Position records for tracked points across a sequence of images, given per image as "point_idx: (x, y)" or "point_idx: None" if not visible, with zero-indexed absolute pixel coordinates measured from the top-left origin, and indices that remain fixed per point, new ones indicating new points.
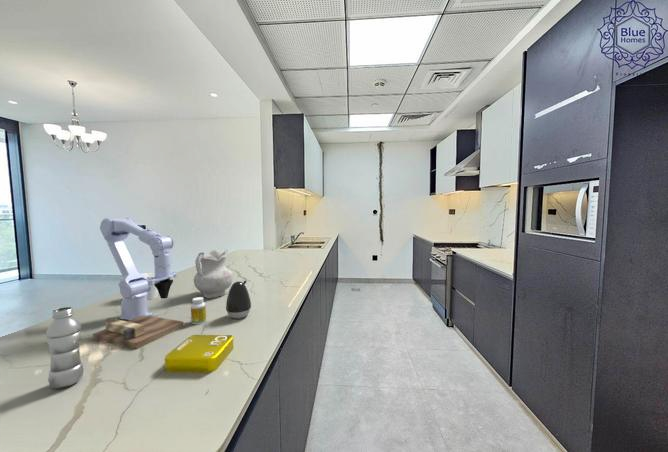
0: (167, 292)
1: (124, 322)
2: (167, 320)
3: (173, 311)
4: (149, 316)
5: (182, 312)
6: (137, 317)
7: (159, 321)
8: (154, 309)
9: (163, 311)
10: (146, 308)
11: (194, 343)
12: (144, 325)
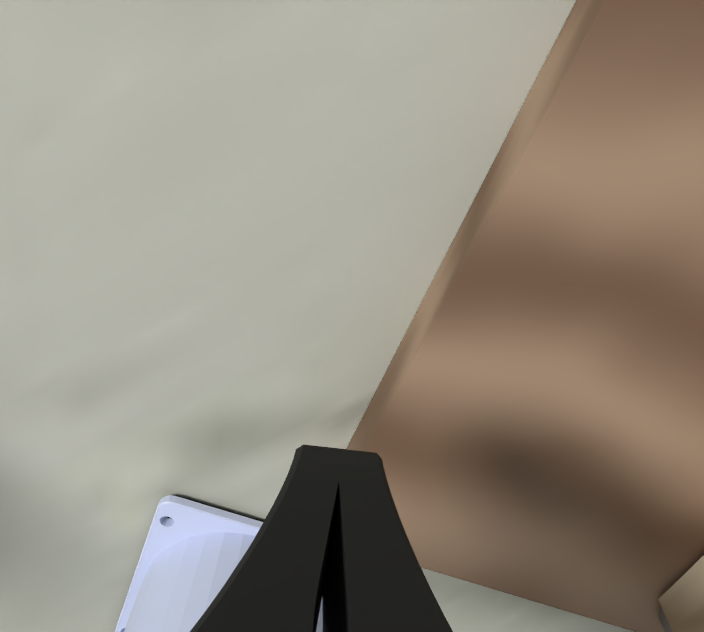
0: (325, 539)
1: None
2: (584, 138)
3: (38, 314)
4: None
5: (52, 165)
6: None
7: (597, 242)
8: (20, 543)
9: (60, 429)
10: (190, 595)
11: None
12: (698, 360)
